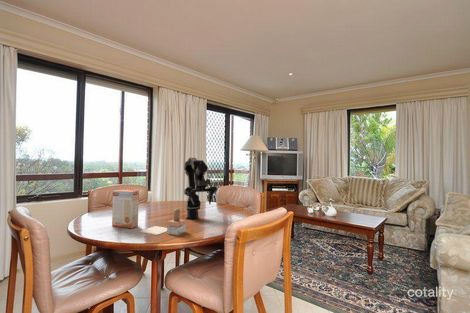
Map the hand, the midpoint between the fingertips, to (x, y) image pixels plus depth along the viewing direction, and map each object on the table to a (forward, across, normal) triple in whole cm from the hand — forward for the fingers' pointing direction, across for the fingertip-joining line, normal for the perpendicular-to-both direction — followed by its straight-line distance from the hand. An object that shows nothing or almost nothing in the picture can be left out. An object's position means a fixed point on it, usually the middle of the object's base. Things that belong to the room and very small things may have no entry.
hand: (202, 204), depth 143 cm
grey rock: (+14, -15, +4) cm, 20 cm away
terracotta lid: (+10, -15, +2) cm, 18 cm away
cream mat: (+11, -25, +10) cm, 29 cm away
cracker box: (+4, -41, +23) cm, 47 cm away
